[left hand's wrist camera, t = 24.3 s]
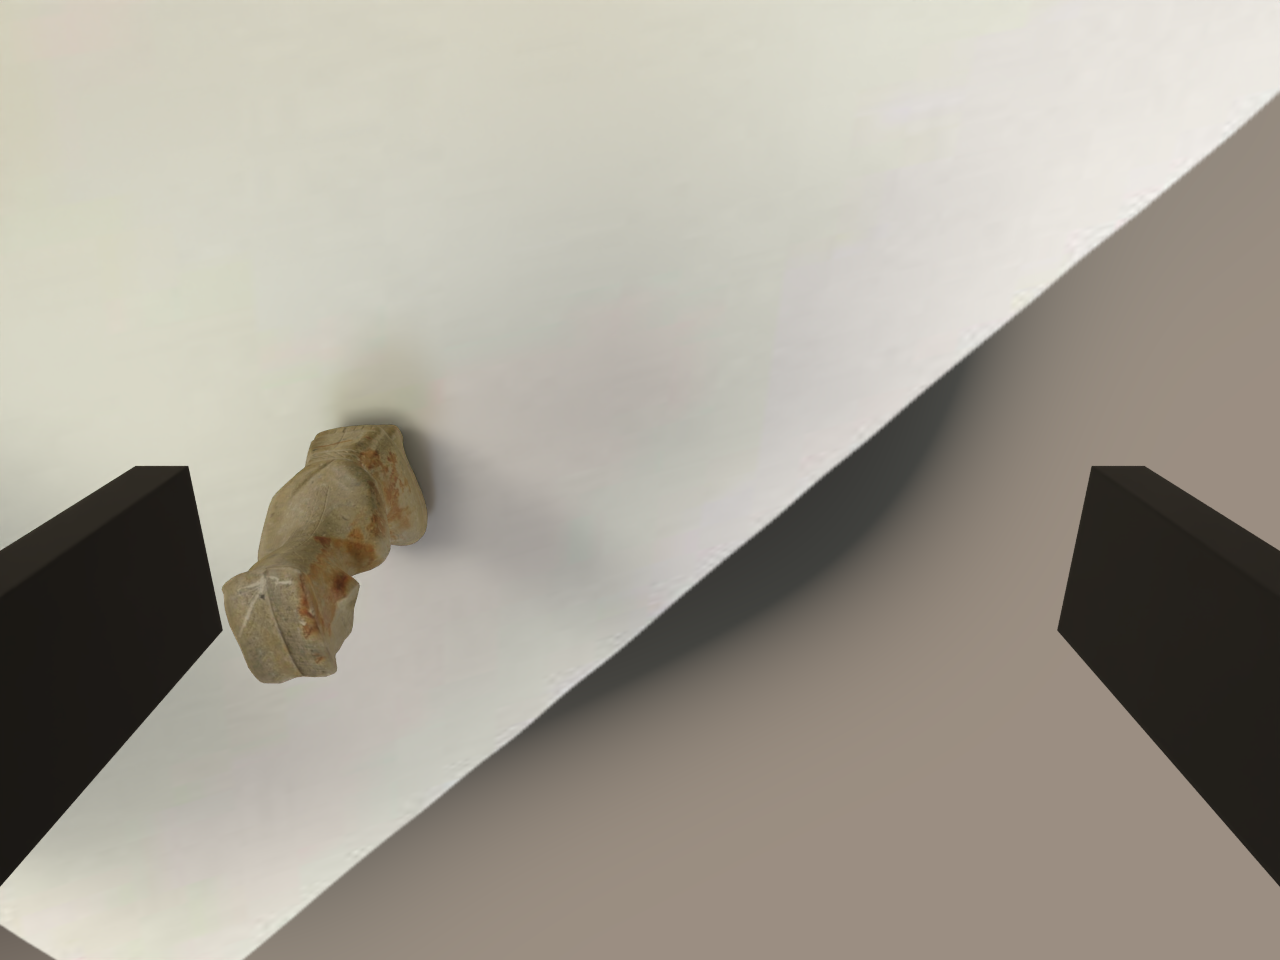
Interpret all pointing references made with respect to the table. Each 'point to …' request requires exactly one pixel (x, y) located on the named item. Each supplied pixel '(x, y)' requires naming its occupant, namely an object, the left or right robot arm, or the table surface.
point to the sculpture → (323, 550)
